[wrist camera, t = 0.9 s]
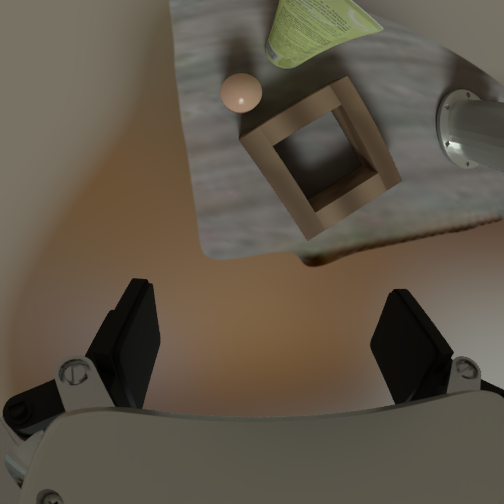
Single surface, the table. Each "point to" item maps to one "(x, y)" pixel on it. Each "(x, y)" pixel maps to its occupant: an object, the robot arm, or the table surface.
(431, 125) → the table surface
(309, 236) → the square wooden frame
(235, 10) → the table surface
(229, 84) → the short stub
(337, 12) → the tube
